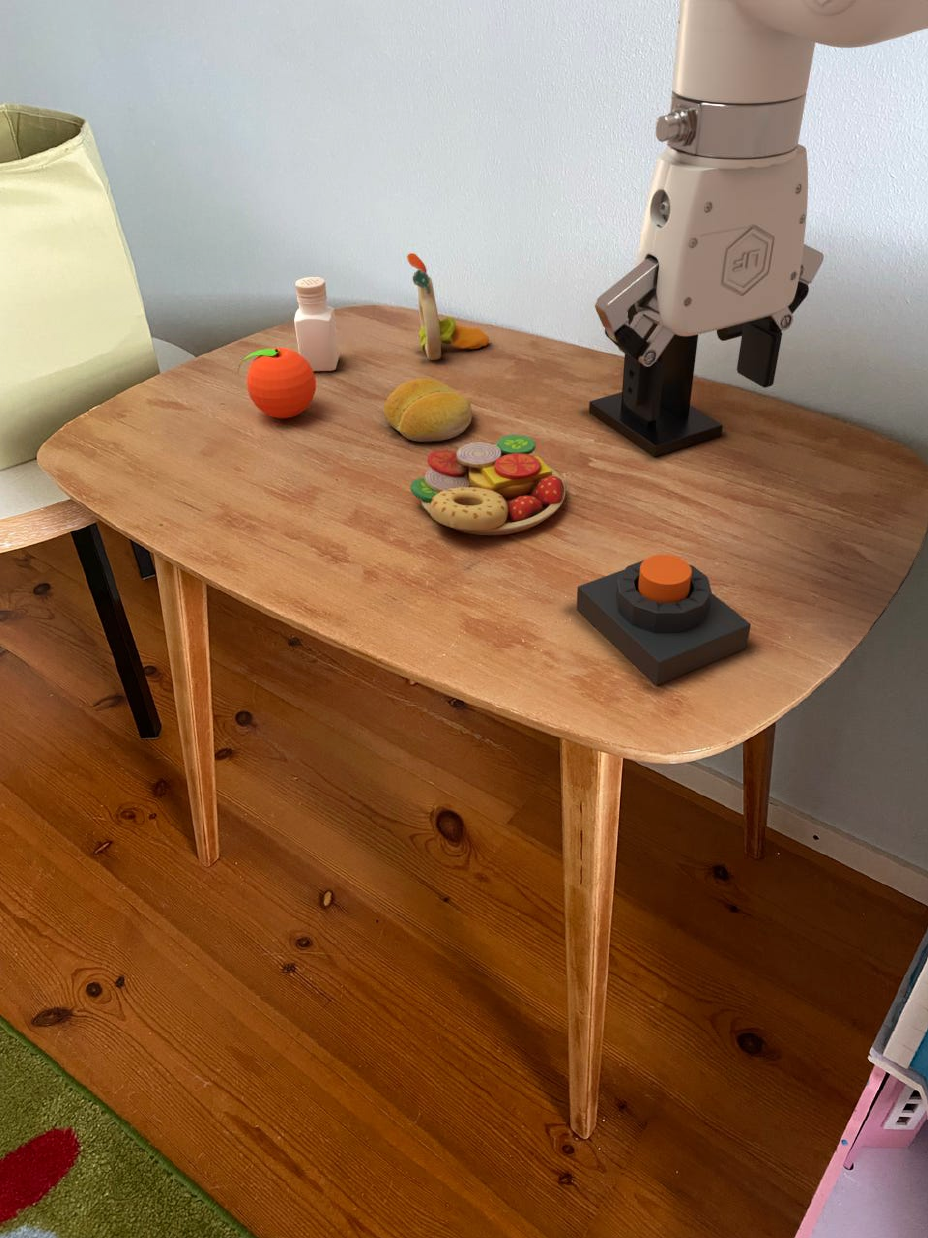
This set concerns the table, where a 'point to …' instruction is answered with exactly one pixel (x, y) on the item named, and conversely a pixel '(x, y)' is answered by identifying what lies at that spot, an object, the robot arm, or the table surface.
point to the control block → (663, 624)
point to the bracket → (663, 404)
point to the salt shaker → (316, 325)
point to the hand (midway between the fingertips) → (698, 395)
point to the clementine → (280, 382)
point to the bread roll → (427, 411)
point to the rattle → (436, 329)
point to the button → (664, 579)
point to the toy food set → (490, 487)
